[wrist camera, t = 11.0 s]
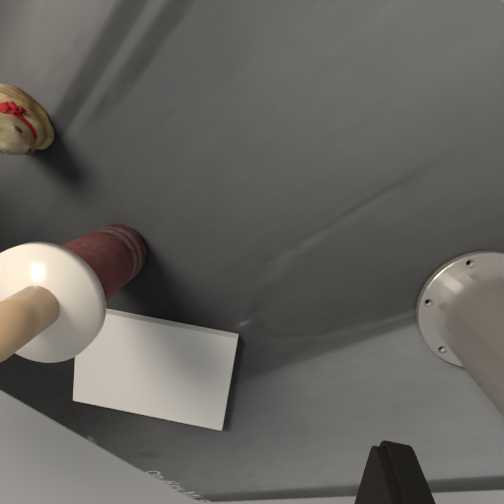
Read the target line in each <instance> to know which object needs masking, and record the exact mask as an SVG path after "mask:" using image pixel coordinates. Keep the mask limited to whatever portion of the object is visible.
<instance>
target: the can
mask: <svg viewBox="0 0 504 504" xmlns="http://www.w3.org/2000/svg"><path fill="white" fill-rule="evenodd" d="M61 246H62V247H65V248H67V249H69V250H70V251H72V252H74V253H75V254H77V255H78V256H80V257H81V258H82V259H83V260H84V261H85V262H86V263H87V264H88V265H89V266H90V267H91V268H92V270H93V271H94V272H95V274H96V275H97V277H98V279H99V281H100V283H101V285H102V287H103V290H104V294H105V299H106V301H107V300H108V299H109V298H110V297H112V296H113V295H114V294H115V293H116V292H117V291H119V290H120V289H121V288H122V287H123V286H124V285H126V284H127V283H128V282H129V281H130V280H131V279H133V278H134V277H135V276H136V275H137V274H138V273H139V272H140V271H141V270H142V269H143V267H144V265H145V262H146V255H147V251H146V247H145V244H144V242H143V240H142V239H141V237H140V235H139V234H138V233H136V232H135V231H134V230H133V229H131V228H129V227H127V226H125V225H120V224H112V225H107V226H104V227H102V228H100V229H98V230H95V231H93V232H91V233H89V234H86V235H84V236H82V237H80V238H77V239H75V240H73V241H71V242H68V243H66V244H64V245H61Z"/></svg>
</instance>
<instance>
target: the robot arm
mask: <svg viewBox="0 0 504 504" xmlns="http://www.w3.org/2000/svg"><path fill="white" fill-rule="evenodd" d="M468 260H469V262H468V263H467V264H466V262H467V261H468ZM427 299H428V301H427V302H425V301H426V300H427ZM416 319H417V325H418V328H419V332H420V334H421V336H422V337H423V339H424V341H425V342H426V344H427V345H428V346H429V348H430V349H431V350H432V351H433V352H434V353H435V354H436V355H437V356H439V357H440V358H442V359H443V360H445V361H447V362H449V363H451V364H454V365H457V366H460V367H464V368H465V369H466V370H467V371H468V373H469V374H470V375H471V376H472V378H473V379H474V380H475V381H476V383H477V384H478V385H479V386H480V388H481V389H482V390H483V391H484V393H485V394H486V395H487V397H488V398H489V399H490V400H491V402H492V403H493V404H494V405H495V407H496V408H497V409H498V410H499V412H500V413H501V414H502V415H503V417H504V253H502V252H496V251H478V252H472V253H467V254H464V255H461V256H459V257H456V258H454V259H452V260H450V261H449V262H447V263H445V264H444V265H443V266H441V267H440V268H439V269H438V270H436V271H435V272H434V273H433V274H432V276H431V277H430V278H429V279H428V280H427V282H426V283H425V285H424V287H423V288H422V290H421V293H420V295H419V298H418V301H417V308H416ZM439 347H440V348H439ZM355 504H435V501H434V499H433V496H432V494H431V492H430V489H429V487H428V484H427V482H426V479H425V477H424V474H423V472H422V470H421V467H420V465H419V462H418V460H417V457H416V455H415V452H414V450H413V449H412V447H411V446H409V445H404V444H399V443H394V442H390V441H382V442H381V444H380V446H379V447H378V446H373V447H372V448H371V450H370V453H369V457H368V460H367V463H366V467H365V470H364V474H363V477H362V480H361V484H360V487H359V490H358V494H357V497H356V501H355Z"/></svg>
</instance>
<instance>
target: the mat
mask: <svg viewBox="0 0 504 504" xmlns="http://www.w3.org/2000/svg"><path fill="white" fill-rule="evenodd" d="M238 336H239V334H236V333H231V332H226V331H221V330H215V329H210V328H205V327H200V326H195V325H189V324H184V323H179V322H174V321H169V320H164V319H158V318H153V317H148V316H143V315H138V314H132V313H127V312H122V311H117V310H112V309H107V308H106V317H105V321H104V324H103V327H102V329H101V331H100V333H99V334H98V336H97V337H96V338H95V339H94V340H93V342H92V343H91V344H90V345H89V346H88V347H87V348H86V349H85V350H83V351H82V352H81V353H80V354H78V355H76V356H75V370H74V390H73V401H78V402H83V403H88V404H93V405H98V406H103V407H107V408H112V409H117V410H122V411H127V412H132V413H137V414H142V415H147V416H152V417H157V418H161V419H166V420H171V421H176V422H181V423H186V424H191V425H196V426H201V427H206V428H211V429H215V430H220V431H222V427H223V423H224V417H225V411H226V406H227V400H228V394H229V388H230V382H231V377H232V371H233V365H234V359H235V353H236V348H237V342H238Z"/></svg>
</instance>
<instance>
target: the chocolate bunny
mask: <svg viewBox="0 0 504 504" xmlns="http://www.w3.org/2000/svg"><path fill="white" fill-rule="evenodd" d="M54 139H55V138H54V129H53V127H52V126H51V124H50V121H49V118H48V115H47V114H46V112H45V111H44V109H43V108H42V107H41V106H40V105H39V104H38V103H37V102H36V101H35V100H34V99H32V98H31V97H30V96H29V95H28V94H27V93H25V92H24V91H22V90H21V89H19V88H17V87H15V86H11V85H7V84H0V153H3V154H9V155H25V154H27V155H28V156H32V155H34V152H33V151H35V150H36V149H40V150H44V149H47V147H49V146H50V145H51V144H52V142H53V141H54Z"/></svg>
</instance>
